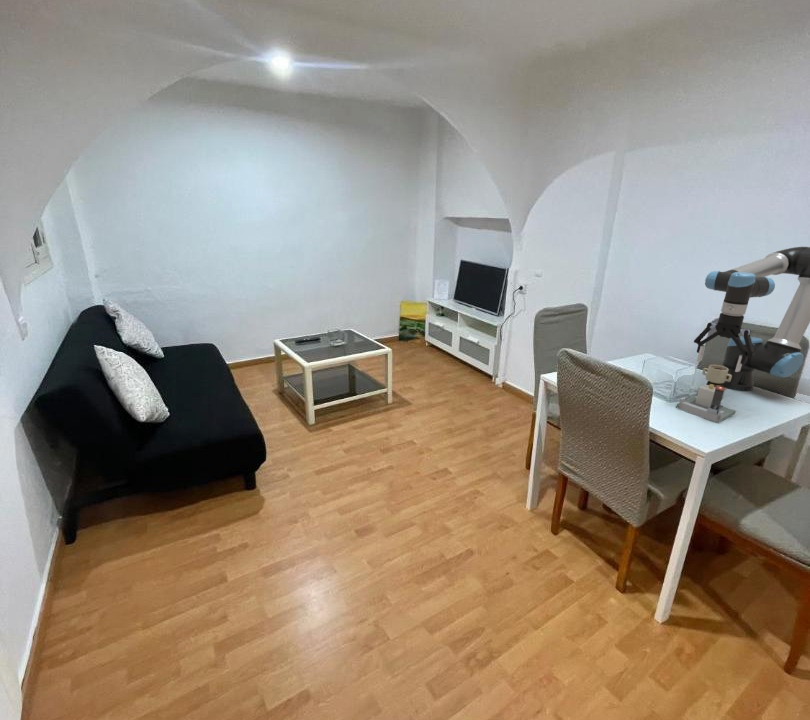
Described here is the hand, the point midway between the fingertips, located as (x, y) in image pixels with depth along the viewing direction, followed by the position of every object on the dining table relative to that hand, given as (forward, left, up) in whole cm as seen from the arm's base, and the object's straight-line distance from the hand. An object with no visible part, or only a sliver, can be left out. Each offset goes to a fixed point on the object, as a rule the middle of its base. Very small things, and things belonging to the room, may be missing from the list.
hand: (717, 365), depth 171 cm
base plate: (+3, +1, -19) cm, 19 cm away
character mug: (-17, -5, -19) cm, 26 cm away
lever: (+9, +6, -15) cm, 19 cm away
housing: (0, 0, -17) cm, 17 cm away
